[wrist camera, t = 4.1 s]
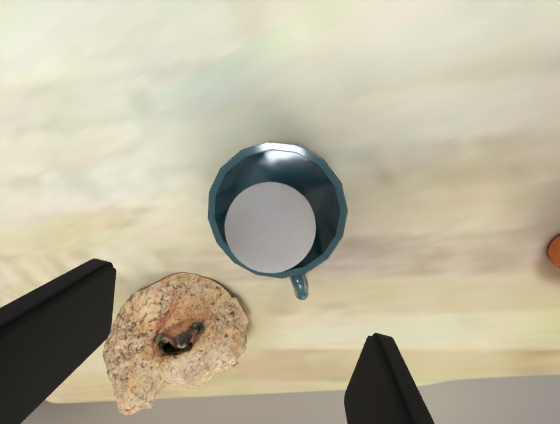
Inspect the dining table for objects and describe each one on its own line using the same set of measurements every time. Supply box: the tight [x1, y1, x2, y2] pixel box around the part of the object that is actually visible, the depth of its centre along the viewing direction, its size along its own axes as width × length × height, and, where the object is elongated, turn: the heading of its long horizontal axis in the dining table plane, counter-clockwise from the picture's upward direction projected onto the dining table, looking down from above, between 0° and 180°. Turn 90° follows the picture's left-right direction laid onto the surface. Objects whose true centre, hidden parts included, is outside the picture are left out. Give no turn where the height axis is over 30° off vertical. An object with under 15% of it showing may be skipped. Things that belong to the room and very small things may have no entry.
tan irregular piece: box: [103, 272, 249, 415], centre depth 35 cm, size 18×14×8 cm
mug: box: [208, 142, 348, 300], centre depth 28 cm, size 17×13×8 cm
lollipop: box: [225, 182, 316, 273], centre depth 24 cm, size 7×7×15 cm
